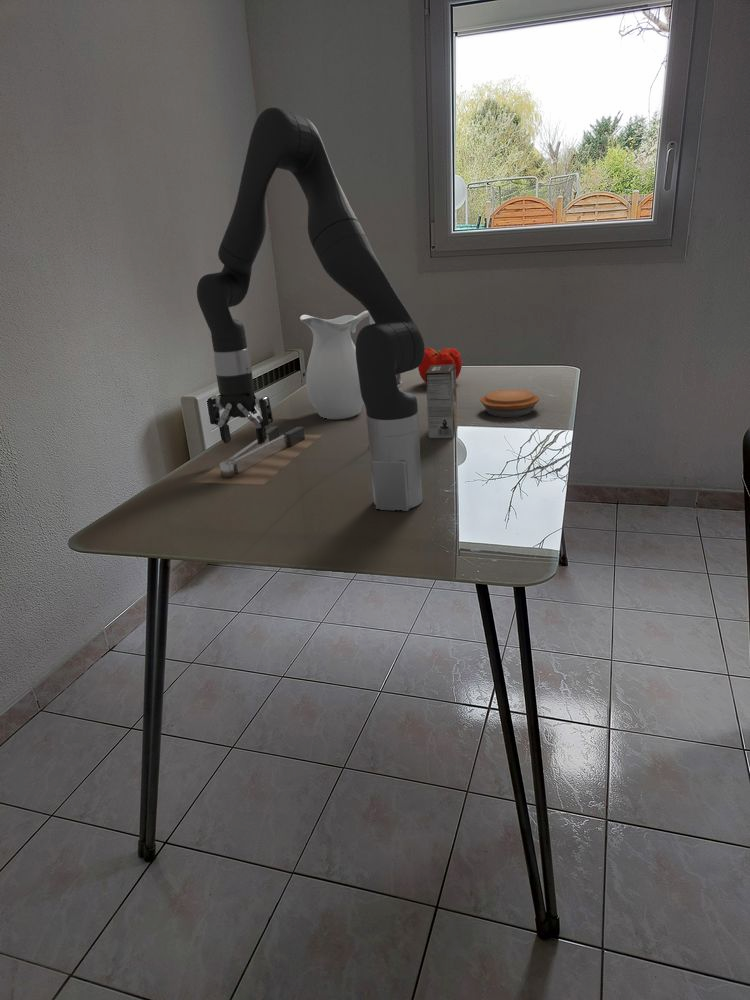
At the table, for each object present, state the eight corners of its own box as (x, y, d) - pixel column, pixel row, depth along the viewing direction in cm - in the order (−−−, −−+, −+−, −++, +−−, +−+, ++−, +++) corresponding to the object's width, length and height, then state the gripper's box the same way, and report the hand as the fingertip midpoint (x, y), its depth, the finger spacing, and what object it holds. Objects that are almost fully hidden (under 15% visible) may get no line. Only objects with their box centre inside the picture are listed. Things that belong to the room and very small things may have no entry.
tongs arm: (241, 473, 143) (239, 460, 142) (234, 472, 144) (232, 459, 143) (304, 439, 163) (303, 427, 162) (298, 438, 164) (297, 426, 163)
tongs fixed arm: (231, 478, 141) (228, 465, 139) (217, 478, 141) (214, 465, 140) (285, 438, 165) (283, 426, 164) (273, 437, 166) (271, 426, 165)
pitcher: (316, 426, 179) (304, 320, 168) (304, 411, 194) (293, 313, 183) (400, 413, 184) (394, 309, 174) (383, 400, 200) (376, 304, 189)
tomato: (415, 389, 209) (413, 352, 205) (425, 379, 222) (424, 343, 217) (457, 389, 205) (456, 351, 201) (465, 379, 218) (464, 342, 213)
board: (263, 491, 136) (262, 484, 136) (195, 488, 141) (193, 482, 140) (322, 440, 166) (321, 434, 166) (264, 439, 171) (263, 434, 170)
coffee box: (432, 427, 170) (430, 364, 163) (457, 427, 168) (456, 363, 162) (428, 438, 161) (425, 372, 155) (454, 438, 160) (452, 371, 154)
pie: (510, 401, 188) (510, 383, 186) (551, 411, 176) (552, 392, 174) (468, 412, 181) (467, 394, 179) (508, 423, 168) (508, 404, 167)
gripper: (195, 374, 141) (207, 447, 148) (256, 374, 137) (266, 449, 143) (213, 366, 148) (224, 436, 154) (271, 366, 144) (280, 438, 150)
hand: (244, 442), depth 149 cm, fingers open, 8 cm apart
